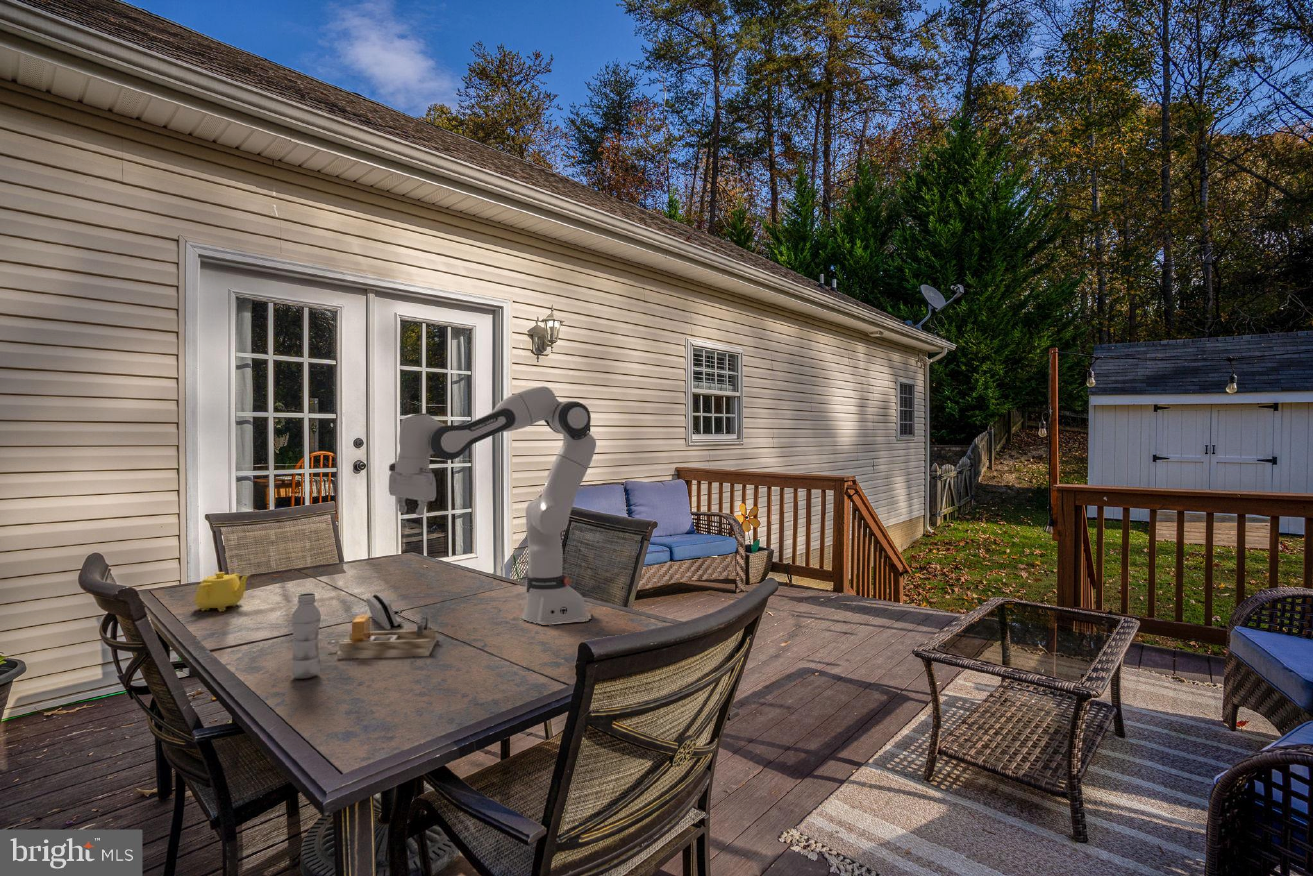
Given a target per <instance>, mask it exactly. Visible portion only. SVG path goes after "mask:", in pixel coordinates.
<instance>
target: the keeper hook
mask: <svg viewBox="0 0 1313 876" xmlns="http://www.w3.org/2000/svg"><path fill="white" fill-rule="evenodd" d="M429 620H430V619H429V616H428V617H427V616H424V617H421V618H420V621H419V622H418V624H417V626H416V627H417V629H416V630H417V637H418V636H423V630H429Z"/></svg>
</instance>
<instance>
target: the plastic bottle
mask: <svg viewBox="0 0 1313 876" xmlns="http://www.w3.org/2000/svg"><path fill="white" fill-rule="evenodd" d="M315 603H316V593H314V592H306V593H301V594H298V596H297V604H298V605H297V607H296V608H295V610H294V611H293V613H291V617H290V618H291V619H290V620H291V627H292V635H293V637H292V638H293V646H292V647H293V648H292V658H291V662H290V667H289V668H290V669H289V670H290V674H291V676H292V678H294V679H295V680H303V679H304V680H305V679H311V678H313V677H316V676H317V675H318V674H319V672H320V671H321V666H322V665H321V659H320V658H321V657H320V653H319V652H320V651H319V632H320V626H321V618H322V613H321V611H320V609H319V608H318V607H317V605H316V604H315Z"/></svg>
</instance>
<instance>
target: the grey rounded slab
mask: <svg viewBox="0 0 1313 876" xmlns="http://www.w3.org/2000/svg"><path fill="white" fill-rule="evenodd" d="M365 601H366V604H367V607H368V609H369V612H370V617H372V619H373V620H375V621H376V622H377V623H378V622H379V623H378V624H380V626H382V627H383V628H384V629H385V630H386V629H388V630H390V629H391V628H392V627H396V626H398V625H399V626H400V627H401V628H404V624H403V622H402V621H401V620H400V619H399V618H398V617H397V616H396V615H395V611H394V609H393V607H392V605H391V603H390V601H389V600H388V599H387V598H386V596H384V595H383V594H381V593H379V592H378V593H375V594H373V596H371V595H370V596H369V597H367V598H366V599H365Z"/></svg>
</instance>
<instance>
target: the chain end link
mask: <svg viewBox="0 0 1313 876" xmlns="http://www.w3.org/2000/svg"><path fill="white" fill-rule="evenodd" d="M370 628H371V614H370V615H357V617H356V618H354V620H352V622H351V632H352V642H362V641H386V640H390V641H394V640H398V635H372V636H371V637H370V632H371V629H370ZM341 642H351V640H350V639H348V640H340V641H339V640H328V641H327V642H326V644H327V646H329V645H330V646H331V645H340V643H341Z"/></svg>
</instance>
